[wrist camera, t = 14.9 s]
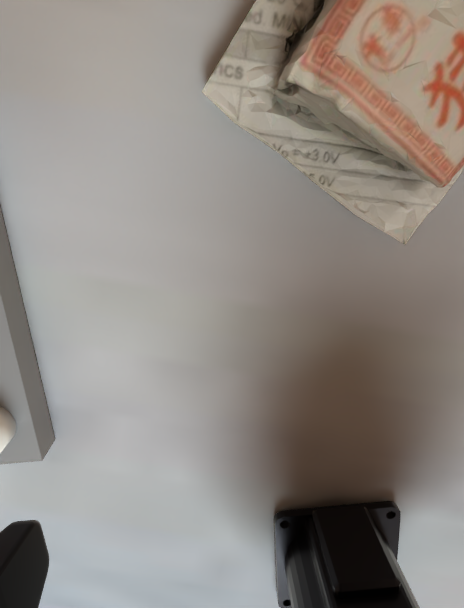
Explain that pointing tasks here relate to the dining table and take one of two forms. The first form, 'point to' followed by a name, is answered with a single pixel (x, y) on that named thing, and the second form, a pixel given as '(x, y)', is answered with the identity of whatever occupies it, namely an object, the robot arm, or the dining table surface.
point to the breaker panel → (19, 374)
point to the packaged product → (354, 98)
